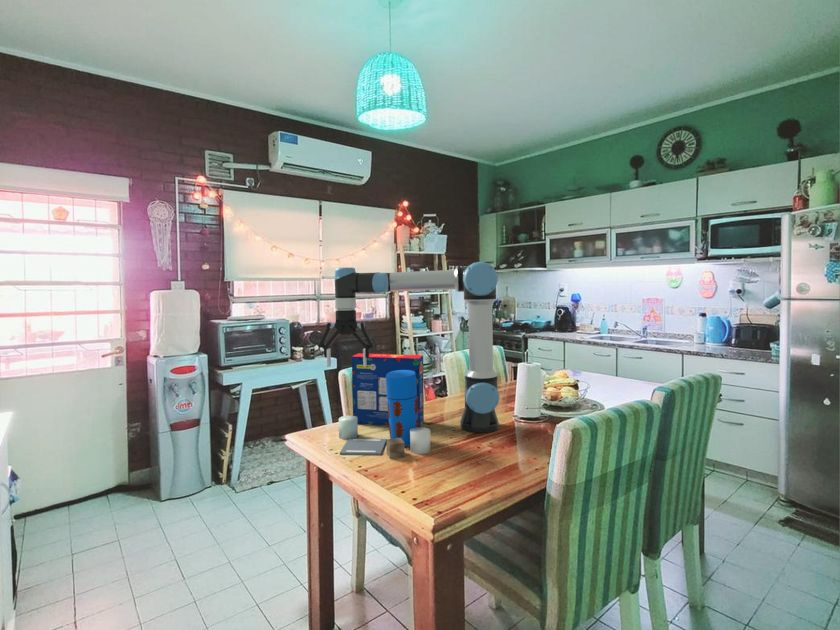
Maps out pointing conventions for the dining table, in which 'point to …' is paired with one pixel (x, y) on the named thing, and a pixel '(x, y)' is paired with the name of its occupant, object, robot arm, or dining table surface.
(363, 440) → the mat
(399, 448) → the walnut block
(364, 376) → the pasta box
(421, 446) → the white rounded cylinder
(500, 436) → the dining table surface
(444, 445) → the dining table surface
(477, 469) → the dining table surface
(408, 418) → the thermos
